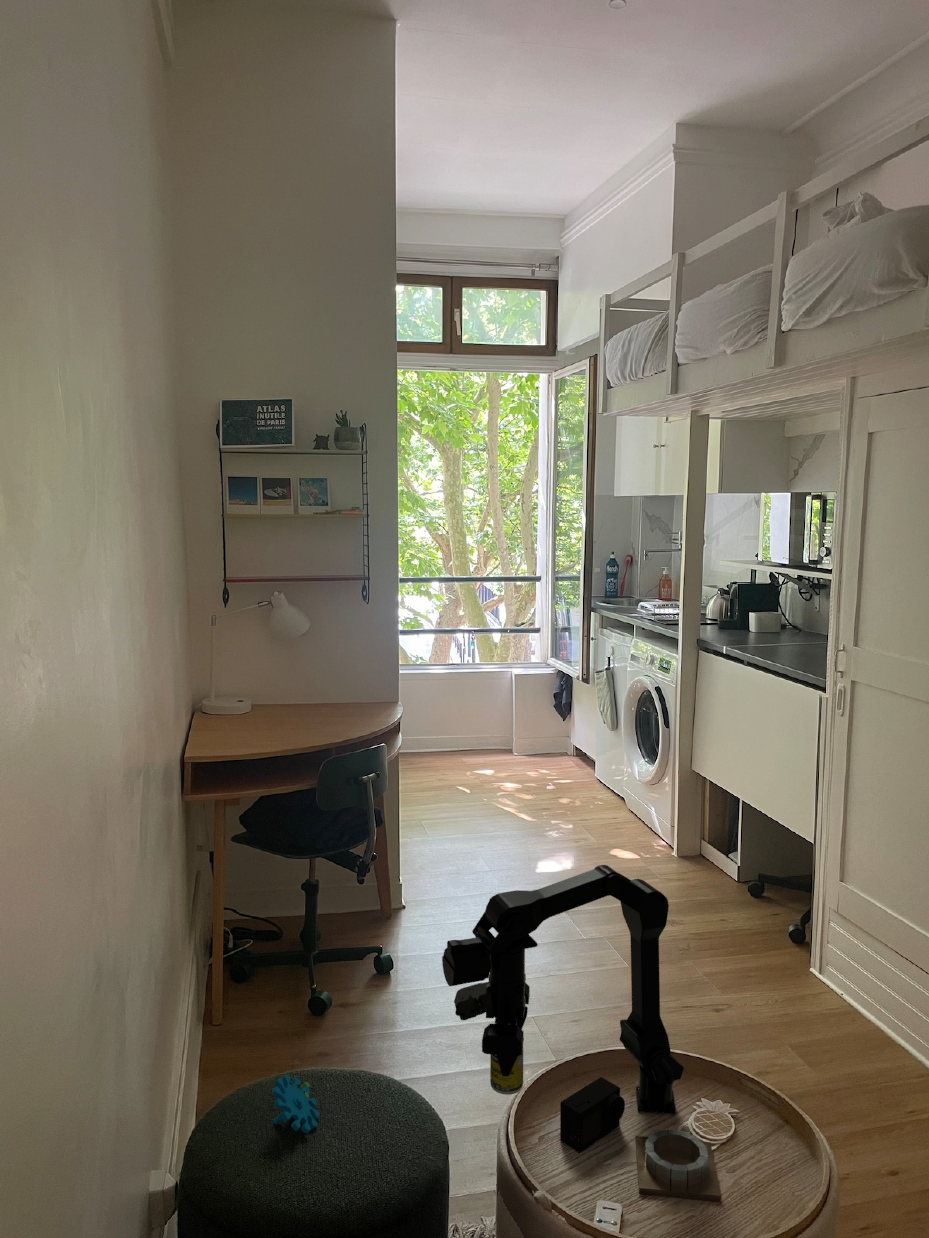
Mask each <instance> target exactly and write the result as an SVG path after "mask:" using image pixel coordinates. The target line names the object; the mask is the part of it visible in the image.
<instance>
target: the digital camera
mask: <svg viewBox="0 0 929 1238" xmlns="http://www.w3.org/2000/svg"><path fill="white" fill-rule="evenodd" d="M625 1103H626V1101H625V1099H624V1097H622V1096H621V1087H620V1086H619V1085H616V1084H614V1083H613V1082H611V1081H609V1080H608V1079H605V1078H604V1077H602V1076H600V1077H599V1078H596V1079H595V1080H593V1081H592V1082H591V1083H589V1084H587V1085H586V1086H584V1087H582V1088H581V1089H580V1090H579V1089H578V1091H576V1092H574V1093H572V1094H571V1095H569V1096H568V1097H566V1098H565V1099H562V1100H561V1101H560V1103H559V1104H560V1108H559V1109H560V1117H559V1119H560V1120H559V1121H560V1122H559V1123H560V1126H559V1130H560V1131H559V1132H560V1133H559V1139H560V1140H559V1141H560V1142H562V1143H563V1144H564V1145H566V1146H567V1147H569V1148H570V1149H572V1150H574V1152H576V1153H578V1154H581V1153H583V1152H584V1151H586V1150H588V1149H590V1147H592V1146H594V1144H596V1143H598V1142H599V1141H600V1140H602V1139H603V1138H605V1137H606V1136H607V1135H609V1134H611V1133H612V1132H613V1131H615V1130H616V1129H618V1128H619V1127H620V1122H621V1119H622V1117H623V1116H624V1113H625V1108H626V1104H625Z"/></svg>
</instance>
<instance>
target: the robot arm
mask: <svg viewBox="0 0 929 1238" xmlns="http://www.w3.org/2000/svg"><path fill="white" fill-rule="evenodd" d="M609 896H610V897H612V898H614V899H616V900H618V901H619V902H620V906H621V912H622V916H623V918H624V921H625V924H626V926H627V928H628V930H629V935H630V978H631V979H630V980H631V985H630V987H631V1012H630V1013H629V1015H628V1016H627V1018H626V1019H620V1020H619V1025H620V1036H619V1041H620V1043H622V1045H623V1047H624V1049H625V1050H626V1052H627V1053H629V1055H630V1056H631V1057H632V1059H634V1060H635V1061H636V1062H637V1063H638V1065H639V1070H638V1071H639V1072H638V1073H639V1074H638V1075H639V1076H638V1078H639V1079H638V1082H639V1084H638V1086H636V1087H635V1095H636V1107H637V1108H636V1109H637V1111H638V1112H646V1113H656V1114H657V1113H658V1114H667V1113H668V1115H675V1114H676V1113H677V1109H676V1103H675V1102H676V1101H675V1095H674V1090H673V1085H674V1082H675V1081H678V1080H681V1078H682V1076H683V1072H684V1068H685V1067H684V1066H683V1065H682V1064H681V1063H680V1062H679V1061H678V1060H677V1059H676V1058H675V1057H674V1056H673V1055H672V1050H671V1046H670V1045H671V1044H670V1040H669V1035H668V1033H667V1030H666V1027H665V1025H664V1022H663V1020H662V1017H661V996H660V995H661V994H660V991H661V990H660V989H661V987H660V984H661V983H660V981H661V980H660V936H661V934H663V932H664V929H665V928H666V926H667V923H668V922H667V921H668V915H669V908H670V905H669V900H668V897H666V895H665V894H664V893H663V892H661V891H660V890H658V889H657V888H655V887H654V886H652V885H651V884H649V883H648V882H646V881H645V880H643V879H641V878H634V879H630V878H628V877H626V876H625V875H623V874H621V873H620V872H618V871H616V870H614V869H613V868H612V867H610V866H609V865H606V864H599V865H597V866H595V867H594V868H593V869H591V870H588V871H585V872H582V873H579V874H577V875H574V876H571V877H568V878H567V879H566V878H565V879H563V880H561V881H560V880H559V881H557V882H555V883H552V884H549V885H547V886H544V887H541V888H538V889H534V890H518V889H517V890H511V891H505V892H498V893H497V894H494V895H492V896H491V897H490V898H489V901H488V903H487V904H486V907H485V910H484V912H483V914H482V915H481V917H480V919H479V920H478V921H477V923H476V925H475V926H474V928H473V929H472V931H471V932H472V934H473V935H474V937H471V938H465V939H450V940H447V941H446V948H445V949H444V951H443V955H442V957H441V959H442V960H441V962H442V963H441V964H442V971H443V975H444V980H445V981H446V984H447V985H448V987H455V986H460V985H464V984H465V985H466V984H472V983H475V984H472V985H468V986H464V987H462V988H460V989H458V990H457V991H456V994H455V997H454V1000H453V1003H454V1007H455V1012H454V1013H455V1015H456V1016H457V1017H459V1019H460V1021H466V1020H470V1019H474V1018H476V1017H478V1016H480V1015H484V1014H485V1019H494V1018H495V1019H494V1023H489V1024H488V1025H487V1026H486V1027H484V1029H483V1034H482V1038H481V1052H482V1053H483V1054H484V1055H490V1054H493V1055H496V1056H497V1059H498V1063H499V1067H500V1070H501V1074H502V1076H507V1077H508V1076H509V1074H510V1072H511V1070H512V1068H513V1066H514V1063H515V1061H516V1059H517V1057H518V1056H520V1055H522V1050H523V1051H524V1040H525V1038H524V1034H525V1033H524V1030H523V1027H524V1025H525V1022H526V1019H527V1017H528V1010H529V1007H528V1006H526V1005H529V1003H530V995H531V994H530V993H531V991H530V988H531V987H530V985H528V983H527V982H526V979H527V977H526V976H527V974H526V971H525V970H526V965H525V963H526V952H525V951H526V949H527V950H528V949H531V948H536V947H538V942H537V941H536V940H535V939H534V938H533V937H532V936H531V935H530V934H532V933H533V932H535V931H536V930H537V929H538V928H539V927H540V925H542V923H543V922H544V921H546V920H548V919H550V918H551V917H556V916H558V915H560V914H562V913H565V912H568V911H570V910H574V909H576V908H579V907H582V906H584V905H587V904H590V903H593V902H595V901H597V900H601V899H603V898H606V897H609ZM492 928H493V929H494V931H495V932H496V933H497V934H496V936H495V935H494V934H493V933H492V932H491V931H490V930H492ZM486 979H488V981H487V982H483V981H485V980H486ZM477 982H479V983H477ZM482 982H483V983H482ZM509 1023H510V1025H509ZM638 1088H639V1089H638Z"/></svg>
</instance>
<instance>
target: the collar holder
mask: <svg viewBox="0 0 929 1238" xmlns="http://www.w3.org/2000/svg"><path fill="white" fill-rule="evenodd" d="M634 1139H635V1141H634V1143H635V1155H636V1167H637V1168H636V1169H637V1171H636V1172H637V1182H638V1184H637V1185H638V1194H639V1195H645V1196H655V1197H663V1198H664V1197H666V1198H675V1199H686V1200H695V1201H704V1202H705V1201H707V1202H715V1203H722V1195H721V1189H720V1184H719V1179H718V1173H717V1170H716V1169H717V1168H716V1163H715V1157H714V1154H713V1148H712V1143H711V1142H709V1141H701V1140H700V1139H699V1138H698V1137H697V1136H696V1135H693V1134H690V1133H688V1132H686V1131H683V1130H681V1129H680V1130H679V1129H670V1128H668V1129H662V1130H658V1131H654V1132H653V1133H652V1132H651V1134H650V1135H649V1136H643V1135H641V1136H640V1135H635V1138H634Z"/></svg>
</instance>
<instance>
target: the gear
mask: <svg viewBox="0 0 929 1238" xmlns="http://www.w3.org/2000/svg"><path fill="white" fill-rule="evenodd" d="M291 1079H292V1078H291V1076H290V1075H287V1074H284V1075H283V1076H282V1077H279V1078H277V1079H276V1080H275V1081H274V1082H273V1083H274V1086H275V1087H274V1088H273V1089H272V1091H271V1095H272V1096H274V1097H276V1098H277V1099H276V1100H275V1101H274V1108H275V1109H277V1110H280V1109H281V1110H283V1111H281V1112H280V1114H278V1116H276V1117H275V1118H274V1119H273V1123H274V1124H275V1125H277V1126H278V1125H279V1124H280V1123H281V1122H282V1121H283V1122H284V1123H287V1122H288V1121H290V1119H293V1120H294V1121H293V1122H292V1123H291V1125H290V1126H291V1128H292V1129H293V1130H294V1131H295V1132H297V1131H298V1130H299V1129H300V1128H301V1132H303V1133H304V1134H308V1133H309V1132H310V1131H311V1130H314V1129H315V1128H316V1127H317V1126H318V1121H317V1119H318V1118H320V1111H318V1110H317V1109H315V1107H316V1106H317V1100H316V1098H315V1097H311V1098H310V1093H311V1091H310V1089H309V1088H310V1087H311V1085H310V1083H309V1082H308V1081H305V1082H304V1083H303V1084H302V1085H301V1080H300V1079H299V1078H298V1077H294V1078H293V1079H292V1080H291ZM290 1082H291V1084H290ZM299 1085H300V1088H298V1086H299ZM301 1124H302V1126H301Z"/></svg>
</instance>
